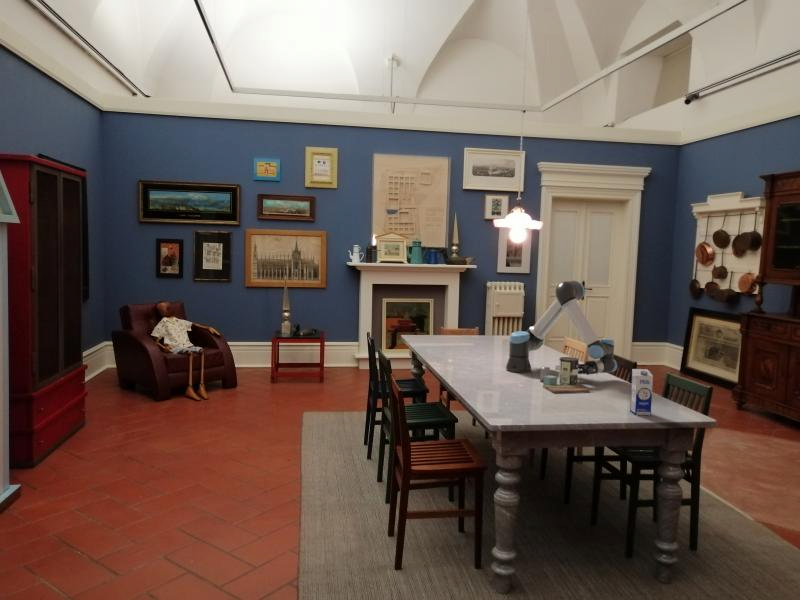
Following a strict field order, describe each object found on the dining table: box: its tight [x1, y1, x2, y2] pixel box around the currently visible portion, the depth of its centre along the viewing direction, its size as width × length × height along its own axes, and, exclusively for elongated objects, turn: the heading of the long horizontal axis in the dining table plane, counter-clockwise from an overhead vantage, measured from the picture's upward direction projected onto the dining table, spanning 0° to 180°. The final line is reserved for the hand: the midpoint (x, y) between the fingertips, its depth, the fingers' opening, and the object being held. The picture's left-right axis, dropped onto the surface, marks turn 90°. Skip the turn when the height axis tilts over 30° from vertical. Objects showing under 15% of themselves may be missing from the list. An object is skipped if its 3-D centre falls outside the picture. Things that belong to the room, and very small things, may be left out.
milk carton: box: [629, 368, 654, 417], centre depth 260 cm, size 7×7×20 cm
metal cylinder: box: [539, 366, 551, 384], centre depth 322 cm, size 5×5×8 cm
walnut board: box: [542, 384, 590, 394], centre depth 303 cm, size 13×20×1 cm, turn 101°
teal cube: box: [542, 374, 558, 386], centre depth 313 cm, size 5×5×5 cm
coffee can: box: [558, 356, 580, 385], centre depth 318 cm, size 10×10×14 cm
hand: (564, 369), depth 316 cm, fingers open, 13 cm apart
